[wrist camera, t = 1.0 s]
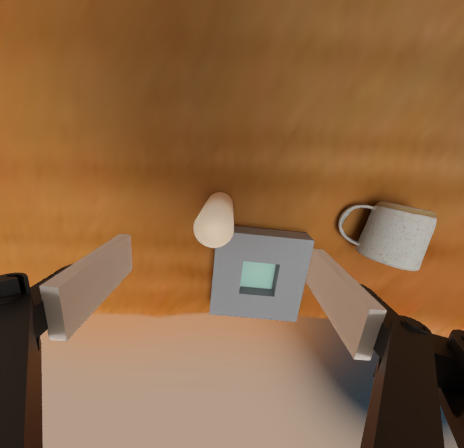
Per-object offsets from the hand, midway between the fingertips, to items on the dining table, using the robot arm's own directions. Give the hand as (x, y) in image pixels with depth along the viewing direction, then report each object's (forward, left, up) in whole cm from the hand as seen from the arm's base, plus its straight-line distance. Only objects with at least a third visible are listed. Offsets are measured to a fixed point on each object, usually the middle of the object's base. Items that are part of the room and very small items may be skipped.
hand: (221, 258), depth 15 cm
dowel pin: (0, -1, -18) cm, 18 cm away
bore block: (+10, +6, -18) cm, 21 cm away
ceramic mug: (+1, +23, -18) cm, 29 cm away
